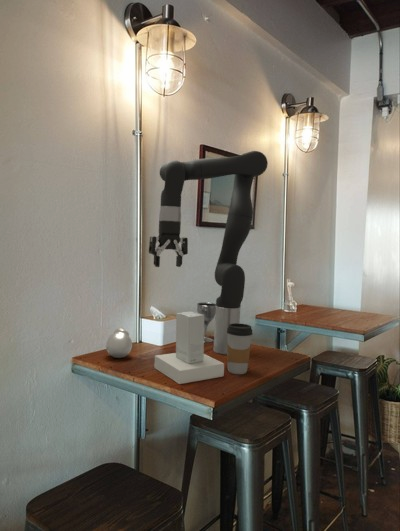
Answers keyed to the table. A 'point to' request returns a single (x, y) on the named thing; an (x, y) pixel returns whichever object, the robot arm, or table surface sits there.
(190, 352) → the skincare box
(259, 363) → the table surface
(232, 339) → the coffee cup
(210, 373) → the block
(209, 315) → the wine glass
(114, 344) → the silver egg shape
